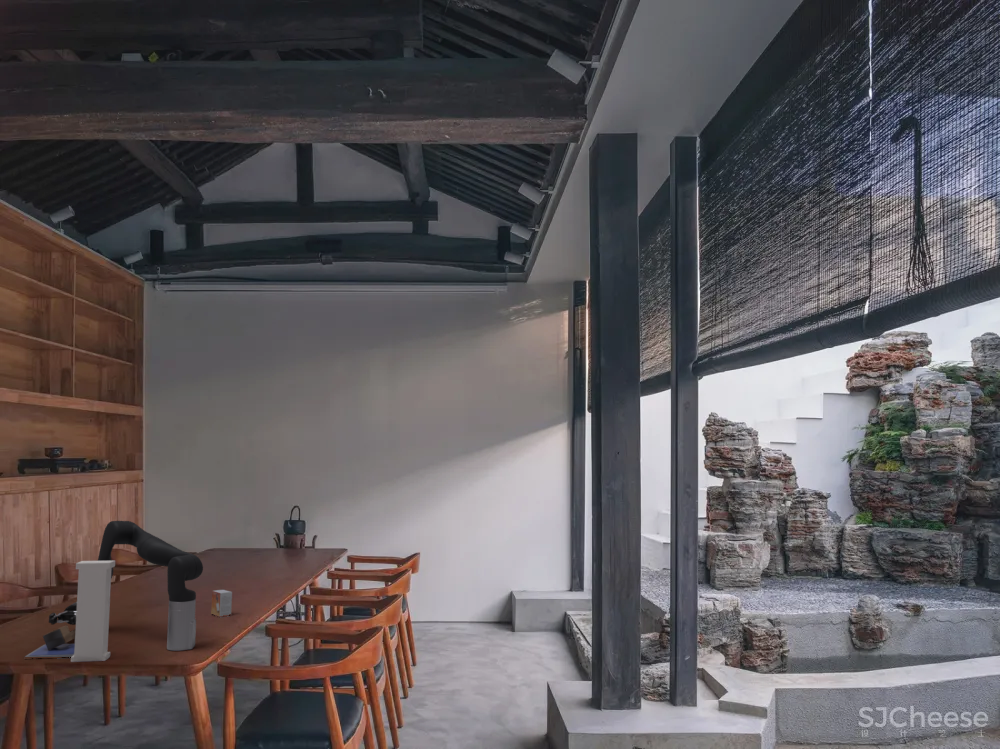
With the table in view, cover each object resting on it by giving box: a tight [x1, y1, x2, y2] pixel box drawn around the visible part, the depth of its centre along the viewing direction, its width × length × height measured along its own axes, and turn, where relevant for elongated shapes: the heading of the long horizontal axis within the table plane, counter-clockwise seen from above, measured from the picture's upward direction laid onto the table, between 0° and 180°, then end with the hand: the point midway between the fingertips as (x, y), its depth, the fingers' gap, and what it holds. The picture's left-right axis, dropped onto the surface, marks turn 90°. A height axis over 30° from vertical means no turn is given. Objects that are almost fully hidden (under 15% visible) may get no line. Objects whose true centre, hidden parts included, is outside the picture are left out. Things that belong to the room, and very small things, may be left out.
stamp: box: [42, 624, 76, 650], centre depth 301 cm, size 6×15×6 cm, turn 3°
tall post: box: [70, 560, 116, 663], centre depth 288 cm, size 11×6×33 cm, turn 100°
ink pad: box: [24, 643, 75, 659], centre depth 295 cm, size 16×18×1 cm
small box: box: [210, 589, 233, 617], centre depth 363 cm, size 8×6×10 cm
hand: (62, 621), depth 298 cm, fingers open, 6 cm apart
